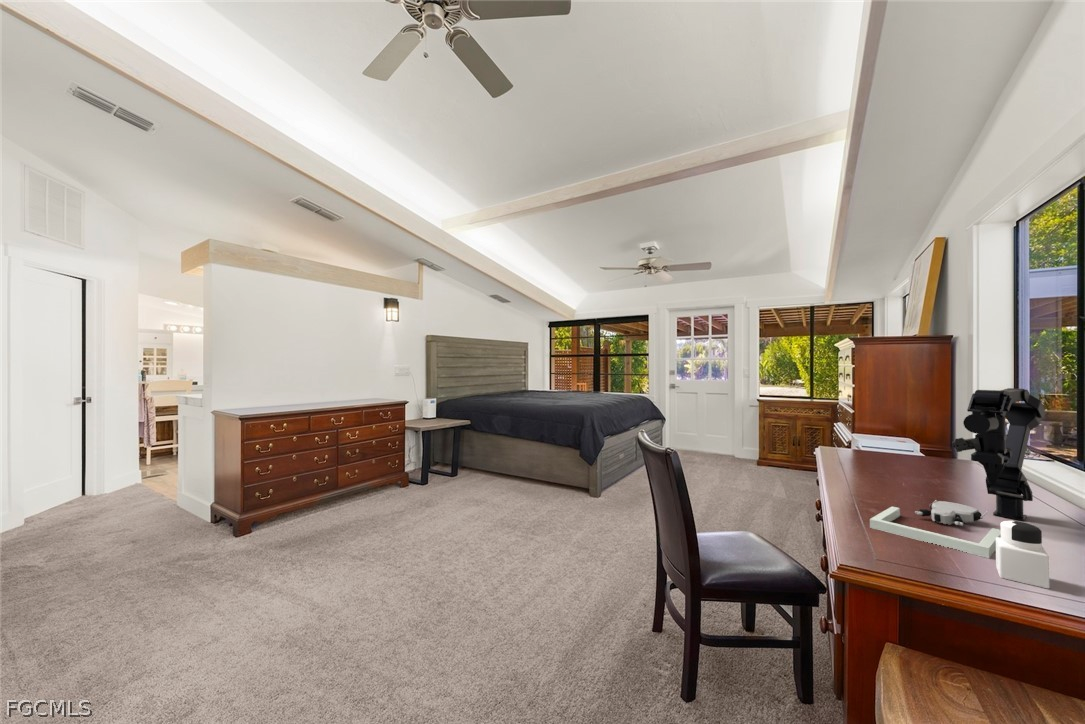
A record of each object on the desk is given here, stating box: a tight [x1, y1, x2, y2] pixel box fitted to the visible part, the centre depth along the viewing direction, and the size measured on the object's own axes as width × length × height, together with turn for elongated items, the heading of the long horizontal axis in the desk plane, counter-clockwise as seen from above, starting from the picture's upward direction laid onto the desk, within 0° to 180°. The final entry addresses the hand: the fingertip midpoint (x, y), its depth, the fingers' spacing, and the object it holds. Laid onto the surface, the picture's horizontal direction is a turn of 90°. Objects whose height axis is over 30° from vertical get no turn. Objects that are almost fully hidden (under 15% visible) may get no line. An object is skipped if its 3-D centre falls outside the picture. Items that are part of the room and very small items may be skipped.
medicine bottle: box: [995, 520, 1050, 590], centre depth 93 cm, size 7×7×12 cm
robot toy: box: [914, 499, 988, 527], centre depth 127 cm, size 12×4×15 cm
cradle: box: [869, 506, 1001, 559], centre depth 117 cm, size 20×24×2 cm
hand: (992, 482), depth 126 cm, fingers closed
